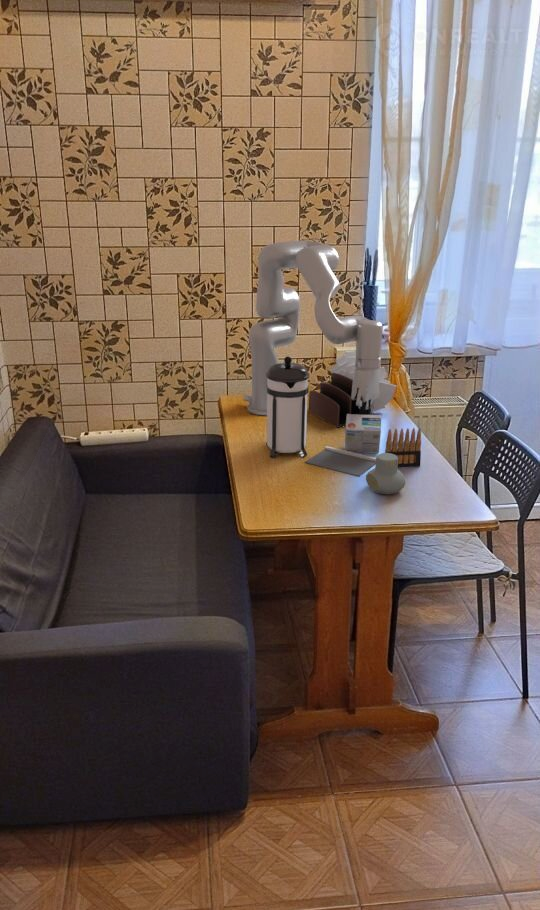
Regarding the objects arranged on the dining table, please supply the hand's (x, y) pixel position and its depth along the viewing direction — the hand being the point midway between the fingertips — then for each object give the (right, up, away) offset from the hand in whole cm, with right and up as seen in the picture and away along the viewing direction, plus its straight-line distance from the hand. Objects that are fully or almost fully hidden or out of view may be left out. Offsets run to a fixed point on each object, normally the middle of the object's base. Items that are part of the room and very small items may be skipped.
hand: (364, 420), depth 236 cm
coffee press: (-25, -9, +2) cm, 26 cm away
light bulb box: (0, -8, +2) cm, 8 cm away
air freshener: (+3, -21, -25) cm, 32 cm away
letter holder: (-7, +2, +30) cm, 31 cm away
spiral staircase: (+4, +8, +43) cm, 44 cm away
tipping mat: (-8, -13, -7) cm, 17 cm away
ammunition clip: (+10, -14, -9) cm, 19 cm away
